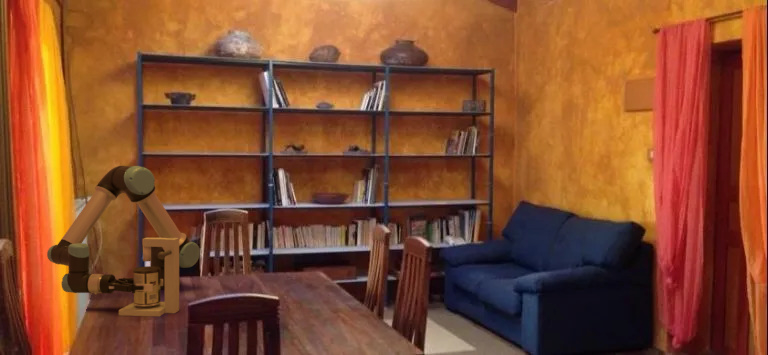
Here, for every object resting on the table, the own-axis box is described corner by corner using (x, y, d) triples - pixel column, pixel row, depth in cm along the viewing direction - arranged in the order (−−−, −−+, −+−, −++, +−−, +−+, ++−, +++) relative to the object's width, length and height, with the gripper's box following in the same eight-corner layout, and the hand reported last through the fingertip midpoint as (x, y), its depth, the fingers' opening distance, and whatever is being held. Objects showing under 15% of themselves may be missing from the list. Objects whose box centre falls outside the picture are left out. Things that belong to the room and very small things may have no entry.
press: (135, 305, 285) (135, 235, 284) (183, 307, 284) (183, 236, 283) (114, 317, 265) (113, 241, 264) (165, 319, 264) (165, 242, 263)
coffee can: (144, 299, 283) (144, 265, 283) (166, 302, 280) (166, 267, 279) (127, 305, 273) (127, 269, 273) (149, 307, 270) (149, 271, 269)
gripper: (115, 287, 289) (168, 288, 287) (89, 299, 266) (146, 300, 265) (115, 269, 288) (168, 270, 287) (89, 279, 266) (146, 281, 265)
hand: (157, 285), depth 276 cm, fingers closed on coffee can, 10 cm apart
